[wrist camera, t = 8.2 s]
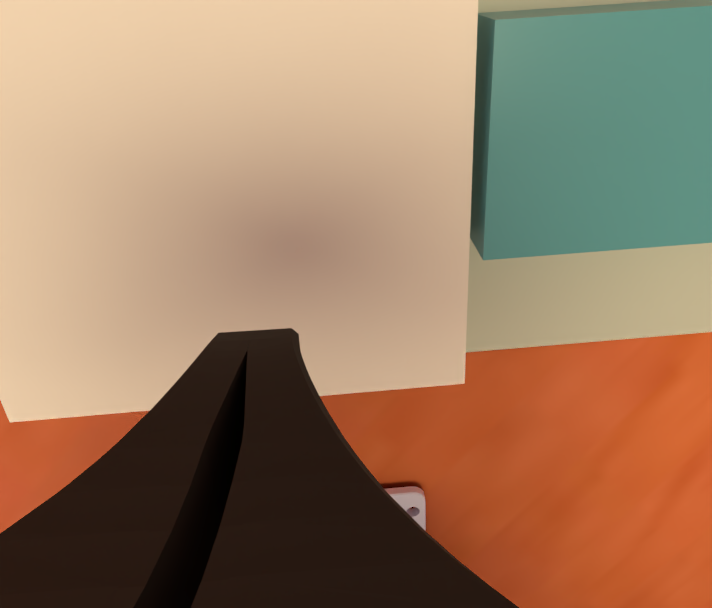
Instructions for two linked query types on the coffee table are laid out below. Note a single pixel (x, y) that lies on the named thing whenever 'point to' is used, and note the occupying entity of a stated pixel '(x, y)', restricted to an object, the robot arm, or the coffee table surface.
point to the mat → (586, 280)
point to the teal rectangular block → (592, 129)
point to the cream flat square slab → (231, 192)
